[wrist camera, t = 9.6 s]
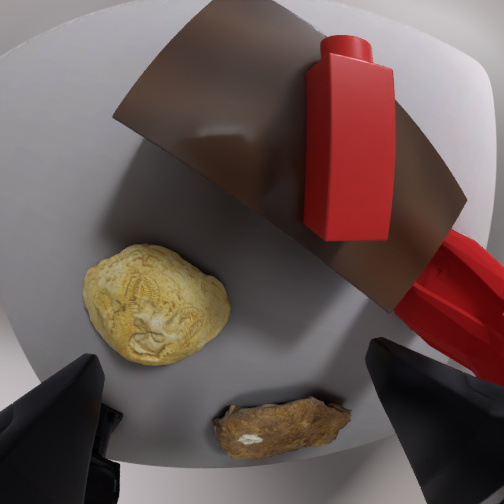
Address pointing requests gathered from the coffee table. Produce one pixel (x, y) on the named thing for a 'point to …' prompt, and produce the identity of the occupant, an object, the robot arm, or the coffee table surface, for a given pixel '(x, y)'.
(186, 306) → the fossil
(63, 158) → the coffee table surface
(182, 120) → the shelf
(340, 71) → the red square bottle
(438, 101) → the coffee table surface
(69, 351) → the coffee table surface
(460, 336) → the water bottle
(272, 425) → the decorative rock
